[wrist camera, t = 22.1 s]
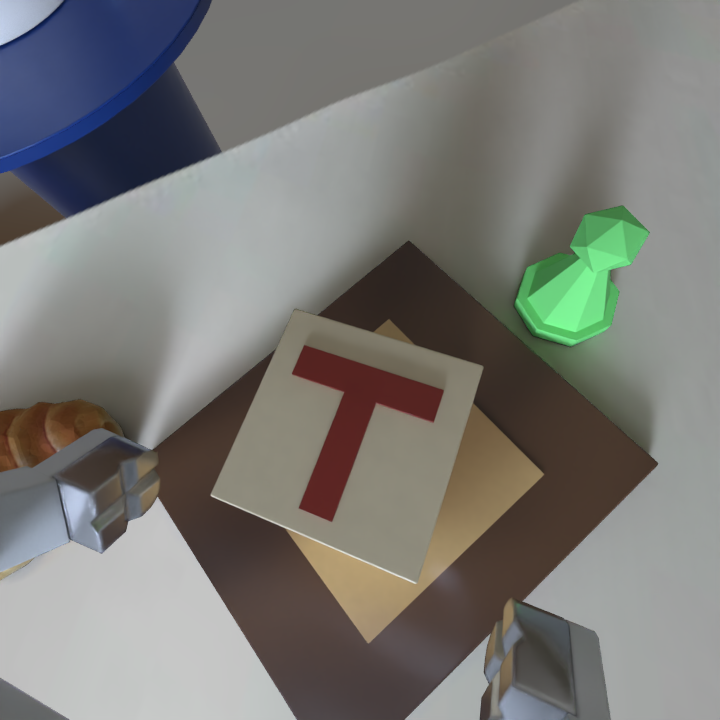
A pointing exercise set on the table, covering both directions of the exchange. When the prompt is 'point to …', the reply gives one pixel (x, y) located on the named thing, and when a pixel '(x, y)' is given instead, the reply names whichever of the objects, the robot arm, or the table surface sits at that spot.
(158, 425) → the table surface
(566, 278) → the game piece
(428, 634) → the brown board
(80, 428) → the pastry
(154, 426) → the table surface
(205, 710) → the table surface
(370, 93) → the table surface
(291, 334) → the letter block
